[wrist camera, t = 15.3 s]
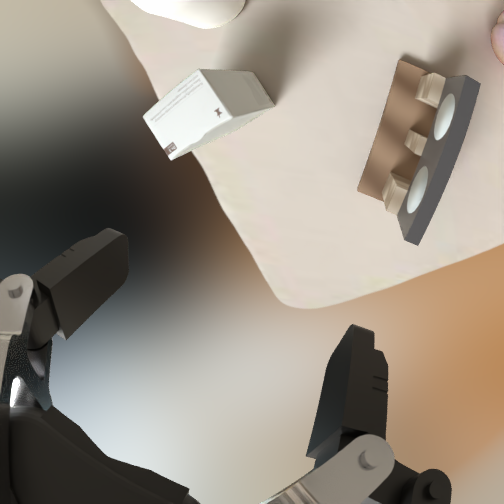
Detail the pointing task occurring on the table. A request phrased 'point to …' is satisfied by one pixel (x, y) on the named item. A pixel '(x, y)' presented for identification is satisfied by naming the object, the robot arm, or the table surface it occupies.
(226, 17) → the wine bottle
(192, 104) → the skincare box
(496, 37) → the decorative fruit
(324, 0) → the table surface
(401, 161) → the wooden peg rack
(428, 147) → the dark flat rectangular bar
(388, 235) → the table surface
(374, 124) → the table surface
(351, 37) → the table surface
